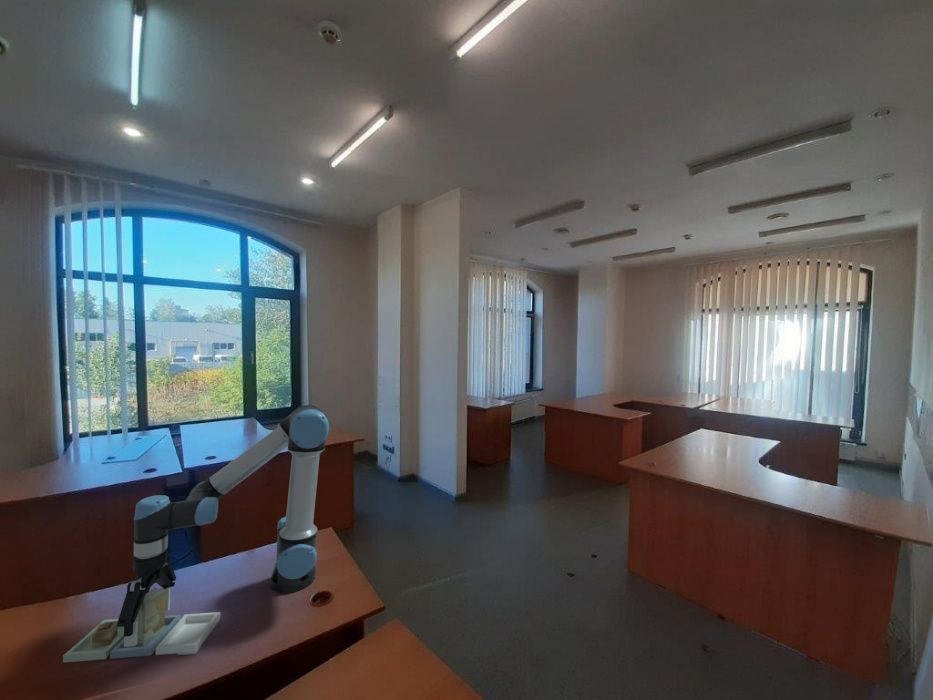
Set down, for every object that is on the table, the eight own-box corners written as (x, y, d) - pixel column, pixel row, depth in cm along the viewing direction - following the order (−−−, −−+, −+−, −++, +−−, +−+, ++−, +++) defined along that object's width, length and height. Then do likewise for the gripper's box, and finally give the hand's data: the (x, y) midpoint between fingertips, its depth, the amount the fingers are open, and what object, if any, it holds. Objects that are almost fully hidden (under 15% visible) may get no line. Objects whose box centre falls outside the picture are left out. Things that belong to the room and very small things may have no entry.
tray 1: (141, 625, 111) (141, 617, 111) (105, 661, 99) (106, 652, 99) (103, 627, 110) (104, 619, 110) (62, 664, 97) (63, 655, 97)
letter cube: (117, 634, 107) (117, 620, 107) (110, 644, 103) (110, 630, 103) (99, 638, 105) (99, 624, 105) (91, 648, 102) (92, 634, 102)
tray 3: (220, 619, 115) (220, 612, 115) (195, 653, 102) (195, 645, 102) (184, 622, 113) (185, 614, 113) (155, 657, 100) (155, 648, 100)
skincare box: (143, 647, 103) (144, 603, 103) (130, 645, 103) (131, 601, 103) (165, 630, 109) (167, 588, 109) (153, 628, 110) (154, 586, 110)
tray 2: (181, 622, 113) (181, 614, 113) (151, 657, 100) (151, 648, 100) (144, 625, 112) (145, 617, 112) (109, 660, 99) (110, 651, 99)
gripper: (165, 531, 118) (163, 598, 118) (99, 579, 93) (96, 664, 93) (190, 530, 119) (188, 597, 119) (132, 578, 94) (130, 661, 94)
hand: (148, 626), depth 106 cm, fingers open, 13 cm apart
